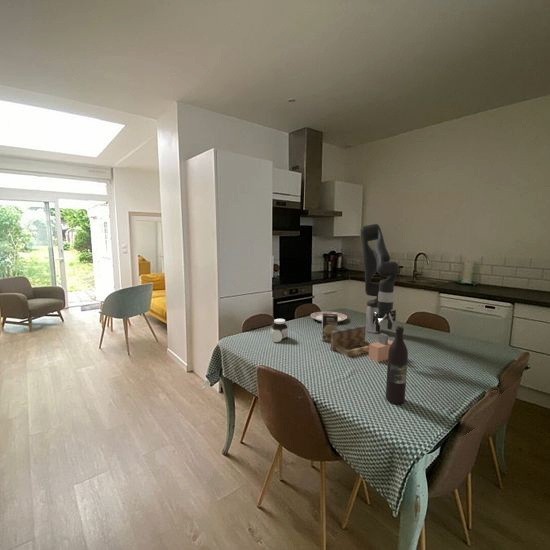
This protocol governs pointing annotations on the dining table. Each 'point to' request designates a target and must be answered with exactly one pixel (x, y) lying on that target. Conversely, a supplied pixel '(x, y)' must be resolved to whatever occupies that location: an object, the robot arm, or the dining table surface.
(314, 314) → the dinner plate
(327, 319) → the coffee box
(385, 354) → the tan box with handle
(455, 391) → the dining table surface
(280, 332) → the spread jar
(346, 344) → the brown grey open box
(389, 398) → the wine bottle
